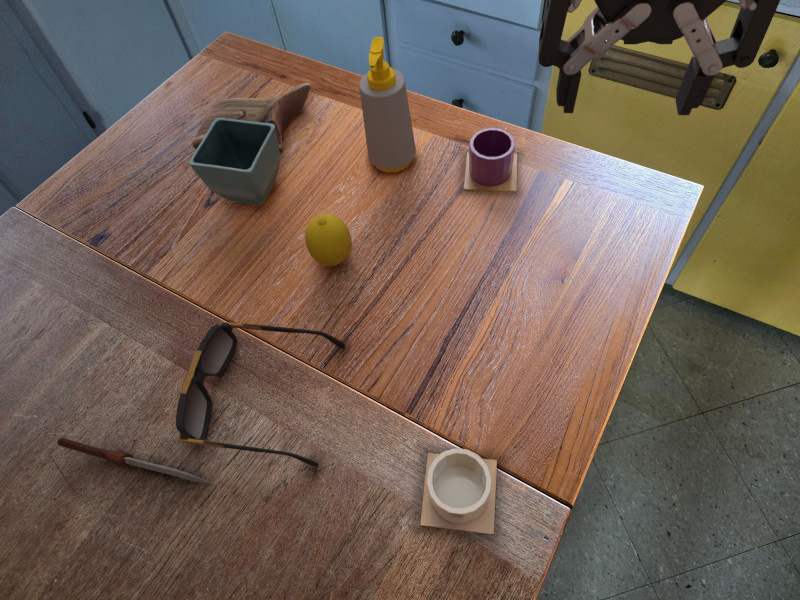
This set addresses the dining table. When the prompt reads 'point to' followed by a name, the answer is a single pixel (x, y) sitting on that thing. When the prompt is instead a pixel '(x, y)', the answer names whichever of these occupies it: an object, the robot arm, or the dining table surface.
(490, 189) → the far coaster
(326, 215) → the lemon
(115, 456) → the knife
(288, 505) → the dining table surface
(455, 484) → the cream dish
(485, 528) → the near coaster
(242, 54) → the dining table surface
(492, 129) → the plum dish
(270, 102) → the fragment
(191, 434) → the sunglasses
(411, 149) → the soap bottle
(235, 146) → the flower pot
